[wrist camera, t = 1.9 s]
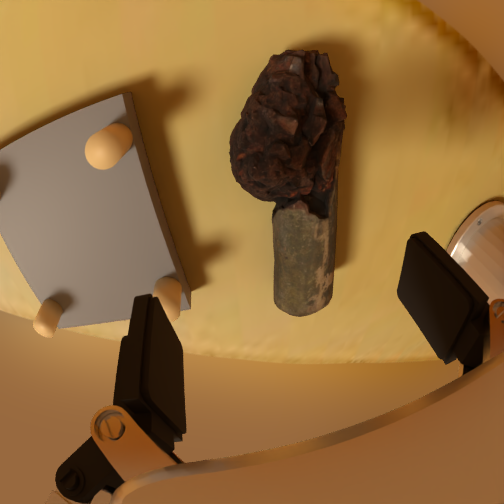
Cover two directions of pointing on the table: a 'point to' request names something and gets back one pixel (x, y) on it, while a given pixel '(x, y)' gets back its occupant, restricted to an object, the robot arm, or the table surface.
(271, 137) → the dark elongated piece
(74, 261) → the pipe stand
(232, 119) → the table surface
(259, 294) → the table surface
